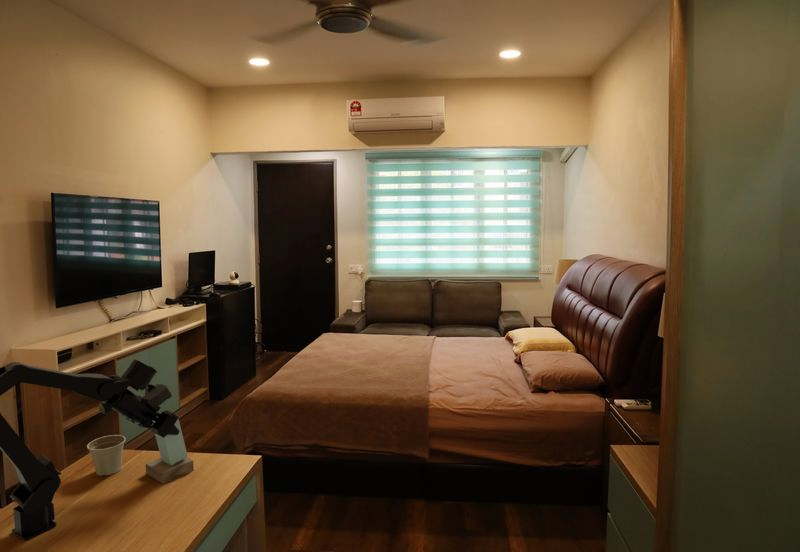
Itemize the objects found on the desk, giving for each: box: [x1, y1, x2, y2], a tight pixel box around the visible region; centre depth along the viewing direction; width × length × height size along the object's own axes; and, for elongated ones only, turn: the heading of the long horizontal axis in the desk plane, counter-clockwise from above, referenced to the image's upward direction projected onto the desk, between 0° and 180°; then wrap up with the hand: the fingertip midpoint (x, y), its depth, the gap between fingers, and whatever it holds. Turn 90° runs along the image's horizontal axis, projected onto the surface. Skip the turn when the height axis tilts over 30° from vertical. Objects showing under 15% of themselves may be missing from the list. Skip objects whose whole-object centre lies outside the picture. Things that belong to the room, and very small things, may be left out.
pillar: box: [153, 414, 188, 466], centre depth 137 cm, size 5×5×13 cm
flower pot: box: [86, 434, 127, 477], centre depth 138 cm, size 9×9×9 cm
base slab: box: [145, 456, 194, 484], centre depth 138 cm, size 9×9×3 cm
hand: (173, 430), depth 138 cm, fingers closed on pillar, 5 cm apart
